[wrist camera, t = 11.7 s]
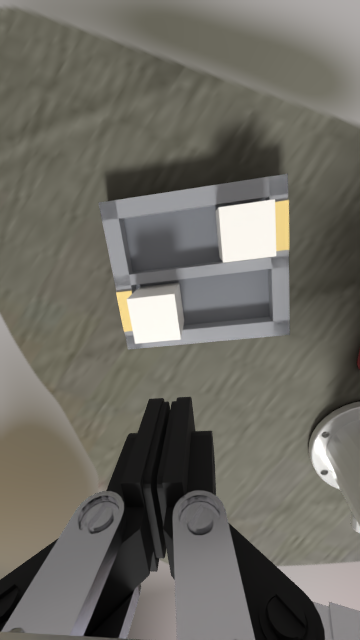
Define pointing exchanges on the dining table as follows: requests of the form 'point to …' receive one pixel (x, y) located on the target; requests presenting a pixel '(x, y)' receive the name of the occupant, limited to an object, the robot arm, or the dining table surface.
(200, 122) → the dining table surface
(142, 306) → the tab
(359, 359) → the pliers
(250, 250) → the tab
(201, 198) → the switch bank
